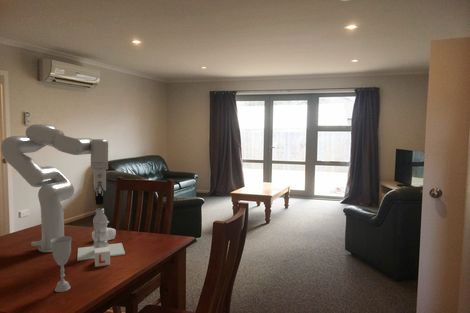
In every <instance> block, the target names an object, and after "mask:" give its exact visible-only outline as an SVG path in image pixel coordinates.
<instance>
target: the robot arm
mask: <svg viewBox="0 0 470 313" xmlns="http://www.w3.org/2000/svg"><path fill="white" fill-rule="evenodd" d="M46 146H49V147H51V148H54V149H55V150H56V151H59V152H62V153H65V154H68V155H72V156H81V155H82V156H83V155H90V170H93V174H92V175H93V188H94V191H95V193H94V195H95V196H94V200H95V205H96V206H98V205H101V206H102V205H104V192H106V191H107V170H109V141H108V140H107V139H101V138H97V139H95V138H90V137H89V138H88V137H87V138H86V137H78V138H77V137H76V138H75V137H71V136H66V135H65V133H64V131H62V130H60V129H57V128H55V126H52V125H50V124H43V123H42V124H35V123H34V124H31V125H29V126H27V128H26V129H25V135H13V136H8V137H6V138H4V139H3V140H2V141H1V145H0V152H1V155H2V157H3V159H4V160H5V161H6V162H7V163H8V164H9V165H10V166H11V167H12V168H13V169H14V170H16V172H17V173H18V174H19V175H20V177H22V178H23V179H24V180H25V181H26V182H27V183H28V184H29V185H30V186H31V187H33V188H40V189H38V193H37V198H38V202H39V205H40V218H41V239H40V240H38V241H31V243H30V245H31V247H36V248H37V247H38V249H37V250H38V252H41V253H53V250H52V243H51V240H52V239H54V238H57V237H63V236H65V219H64V217H65V213H64V208H63V206H62V203H61V202H63V201H67V200H69V199H71V198H72V197H73V196H74V194H75V188H74V185H73V184H72V183H71V181H69V179H68V178H67V177H66V176H65V175H64V174H63V173H62V172H61V171H60V170H59V169H58V168H57V167H54V166H47V165H46V166H40V165H39V164H38V163H37V162H36V161H35V160H34V159H33V158H32V157H30V156H28V155H27V154H30V153H32V154H33V153H36V152H38V151H39V150H41V149H43V148H44V147H46Z"/></svg>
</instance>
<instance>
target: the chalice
mask: <svg viewBox="0 0 470 313" xmlns="http://www.w3.org/2000/svg"><path fill="white" fill-rule="evenodd" d="M72 240H73V237H72V236H69V235H68V236H66V235H64V236H63V237H57V238H54V239H52V240H51V243H52V250H53V252H52V256H53V259H54V262H56V264H57V266H60V269H59V271H60V275H59V277H60V280H59V281H58V282H57V283H56V285H55V289H54V291H55V292H56V293H61V292H62V293H63V292H66V291H69V290H70V289H71V285H70V283H69V281H67V280H65V276H66V274H65V265H66V264H67V263H68V261H69V258H70V256H71V253H72Z"/></svg>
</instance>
